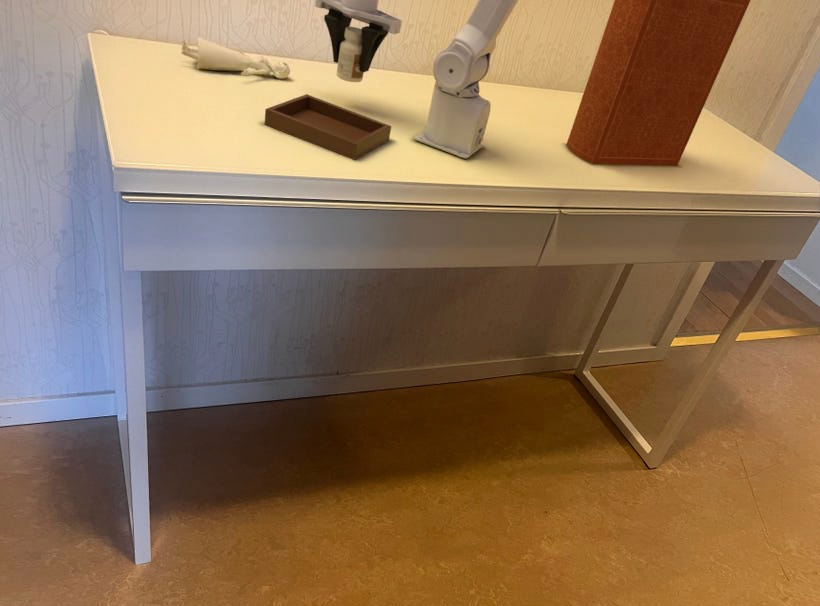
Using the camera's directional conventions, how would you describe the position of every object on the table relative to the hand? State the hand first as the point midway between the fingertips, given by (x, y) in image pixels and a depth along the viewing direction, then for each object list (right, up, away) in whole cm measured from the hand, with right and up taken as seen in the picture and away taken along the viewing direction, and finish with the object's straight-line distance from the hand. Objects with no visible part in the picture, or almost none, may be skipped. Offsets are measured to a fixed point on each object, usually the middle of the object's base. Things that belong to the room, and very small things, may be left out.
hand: (350, 66), depth 116 cm
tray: (-2, -14, -8) cm, 16 cm away
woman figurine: (-21, +1, +5) cm, 21 cm away
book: (+49, -10, +16) cm, 53 cm away
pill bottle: (0, -2, +1) cm, 2 cm away
